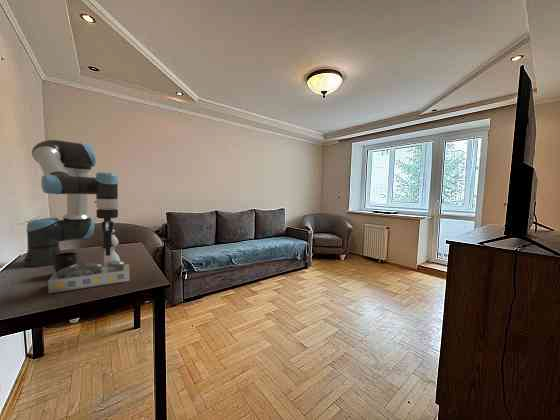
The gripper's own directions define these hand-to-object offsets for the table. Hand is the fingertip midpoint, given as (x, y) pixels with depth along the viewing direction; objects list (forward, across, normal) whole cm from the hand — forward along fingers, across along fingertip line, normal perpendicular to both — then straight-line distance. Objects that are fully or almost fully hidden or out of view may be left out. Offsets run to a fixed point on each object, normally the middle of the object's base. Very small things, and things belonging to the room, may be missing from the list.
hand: (108, 262), depth 103 cm
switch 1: (+2, 0, -13) cm, 13 cm away
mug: (+9, -16, -16) cm, 24 cm away
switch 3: (+2, 0, +3) cm, 3 cm away
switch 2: (+2, 0, -5) cm, 6 cm away
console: (+8, 0, -5) cm, 10 cm away
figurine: (+8, -19, +1) cm, 21 cm away
